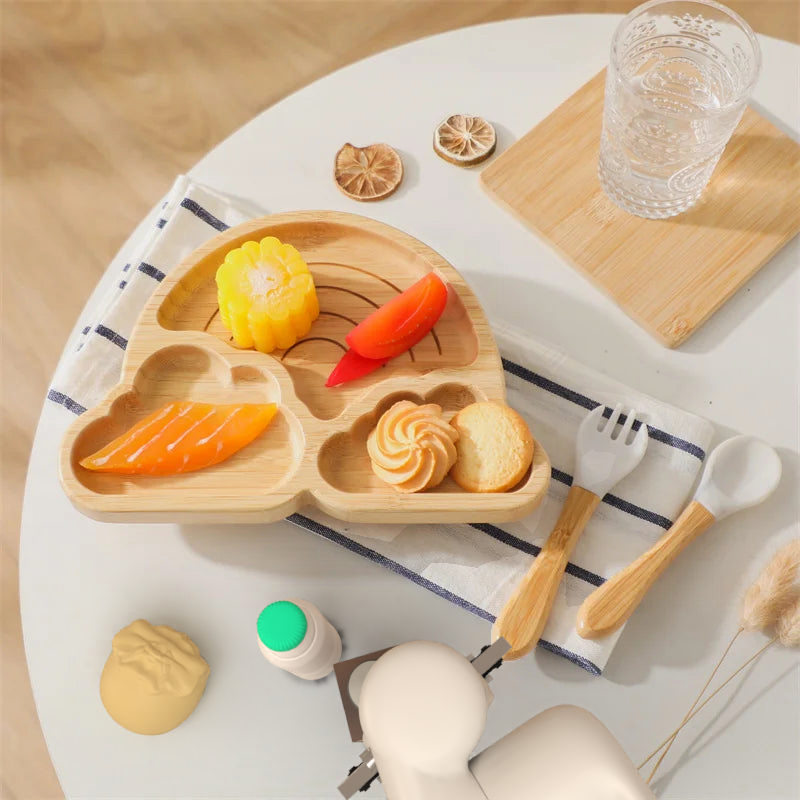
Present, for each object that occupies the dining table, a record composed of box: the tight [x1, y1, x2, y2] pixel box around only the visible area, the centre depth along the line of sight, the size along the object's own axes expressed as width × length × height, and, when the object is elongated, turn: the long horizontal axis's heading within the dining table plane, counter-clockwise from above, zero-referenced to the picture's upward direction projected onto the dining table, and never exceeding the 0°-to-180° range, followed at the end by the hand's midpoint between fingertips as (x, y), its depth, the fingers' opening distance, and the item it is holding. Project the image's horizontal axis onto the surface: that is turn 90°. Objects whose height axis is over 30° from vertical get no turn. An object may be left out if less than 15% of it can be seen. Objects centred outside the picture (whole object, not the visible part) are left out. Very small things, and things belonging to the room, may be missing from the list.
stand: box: [333, 643, 401, 743], centre depth 95 cm, size 7×7×26 cm
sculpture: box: [99, 618, 212, 737], centre depth 104 cm, size 12×12×11 cm
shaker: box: [347, 659, 378, 710], centre depth 78 cm, size 4×4×9 cm
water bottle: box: [256, 597, 343, 681], centre depth 98 cm, size 7×7×25 cm
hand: (427, 718), depth 79 cm, fingers open, 9 cm apart
